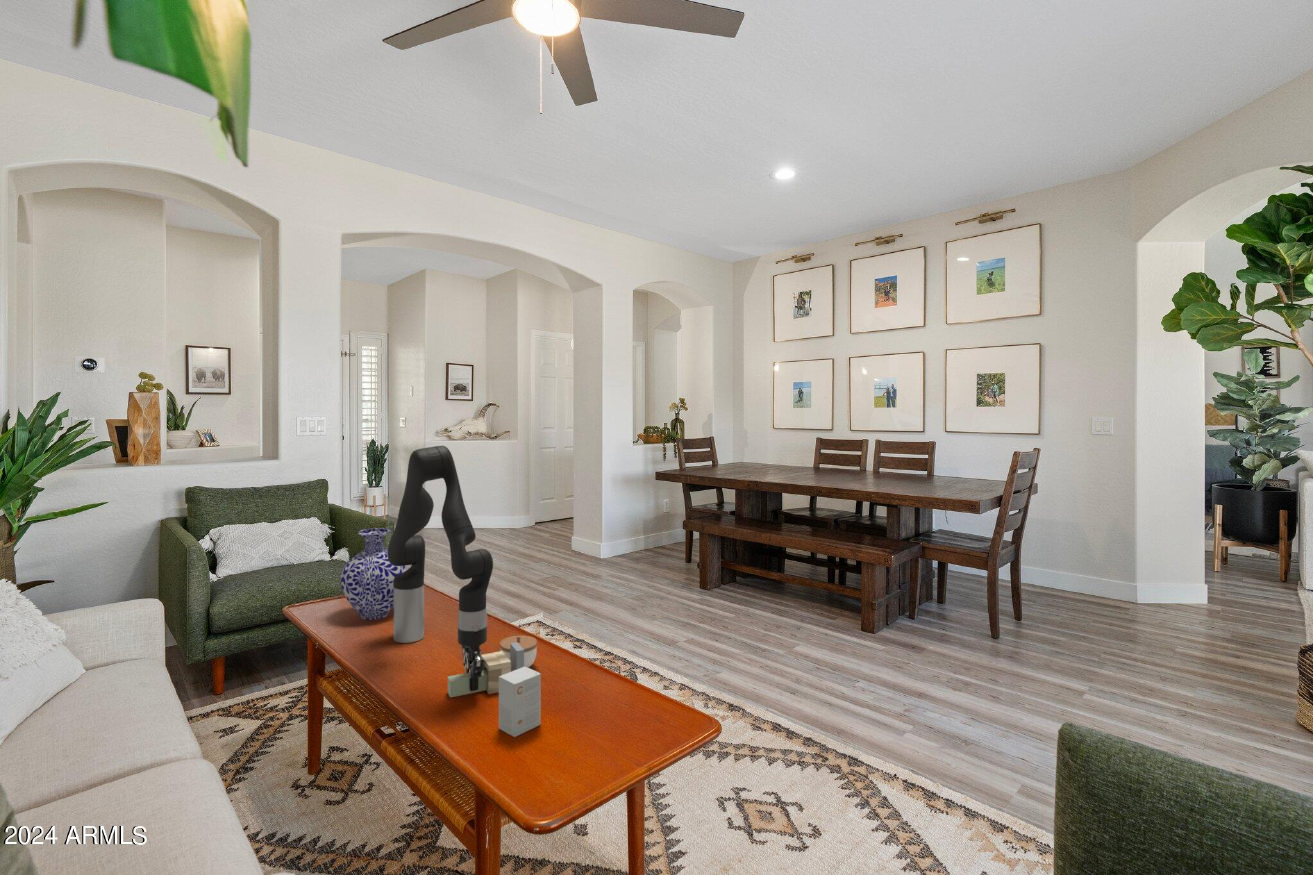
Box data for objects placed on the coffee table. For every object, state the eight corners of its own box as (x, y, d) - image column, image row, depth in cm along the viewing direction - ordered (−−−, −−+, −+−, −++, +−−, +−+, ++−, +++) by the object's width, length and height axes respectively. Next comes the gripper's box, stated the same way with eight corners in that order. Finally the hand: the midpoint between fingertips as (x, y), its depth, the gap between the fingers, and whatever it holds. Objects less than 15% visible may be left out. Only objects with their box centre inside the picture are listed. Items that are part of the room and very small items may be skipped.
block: (480, 682, 182) (480, 654, 182) (501, 678, 185) (502, 650, 185) (488, 694, 175) (488, 665, 175) (510, 689, 178) (510, 661, 178)
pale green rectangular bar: (447, 692, 176) (447, 676, 175) (492, 683, 182) (492, 668, 181) (450, 697, 173) (450, 681, 173) (495, 688, 179) (495, 672, 179)
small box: (524, 716, 164) (525, 665, 163) (541, 725, 160) (541, 673, 159) (497, 728, 158) (498, 675, 157) (514, 738, 154) (514, 684, 153)
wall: (510, 677, 185) (510, 643, 185) (516, 676, 186) (517, 642, 186) (516, 686, 180) (517, 650, 180) (523, 685, 181) (524, 649, 181)
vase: (353, 605, 242) (352, 524, 240) (414, 605, 245) (414, 525, 242) (331, 626, 221) (330, 538, 219) (397, 625, 223) (397, 538, 221)
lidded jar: (544, 664, 195) (544, 633, 194) (522, 678, 185) (522, 646, 185) (514, 657, 199) (515, 627, 199) (491, 671, 190) (491, 639, 189)
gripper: (452, 618, 180) (451, 679, 181) (464, 635, 168) (464, 701, 169) (479, 614, 184) (479, 674, 185) (493, 631, 172) (493, 695, 173)
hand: (472, 686), depth 177 cm, fingers closed on pale green rectangular bar, 3 cm apart
